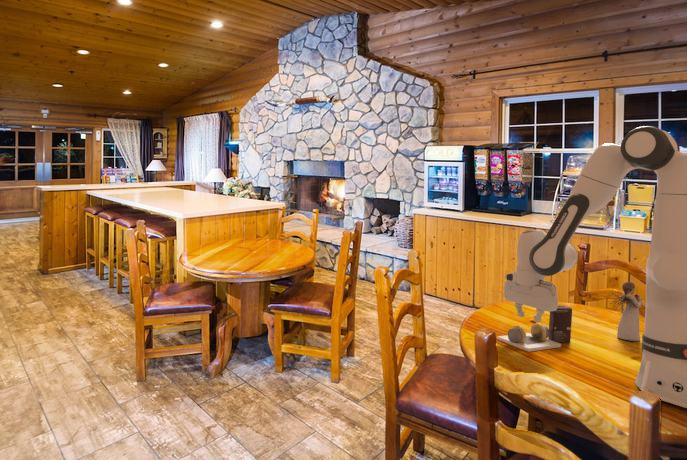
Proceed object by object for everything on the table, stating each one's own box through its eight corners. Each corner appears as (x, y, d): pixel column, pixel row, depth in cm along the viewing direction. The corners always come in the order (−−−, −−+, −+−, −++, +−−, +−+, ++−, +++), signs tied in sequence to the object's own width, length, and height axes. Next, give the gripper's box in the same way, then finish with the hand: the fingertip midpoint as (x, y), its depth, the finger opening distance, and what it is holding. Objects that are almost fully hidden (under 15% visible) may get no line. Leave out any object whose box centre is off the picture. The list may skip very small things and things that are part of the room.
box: (552, 342, 147) (554, 307, 146) (548, 338, 151) (549, 304, 151) (571, 343, 146) (572, 308, 146) (566, 339, 151) (567, 305, 150)
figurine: (644, 340, 151) (646, 283, 150) (630, 345, 145) (632, 285, 144) (614, 333, 159) (616, 279, 158) (599, 337, 154) (602, 281, 153)
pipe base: (560, 346, 143) (561, 328, 142) (528, 351, 137) (529, 332, 137) (527, 335, 155) (528, 318, 155) (497, 339, 150) (497, 321, 150)
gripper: (563, 282, 137) (561, 326, 138) (515, 273, 156) (513, 311, 156) (548, 283, 135) (546, 327, 135) (501, 274, 153) (500, 312, 154)
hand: (528, 318), depth 146 cm, fingers open, 6 cm apart
